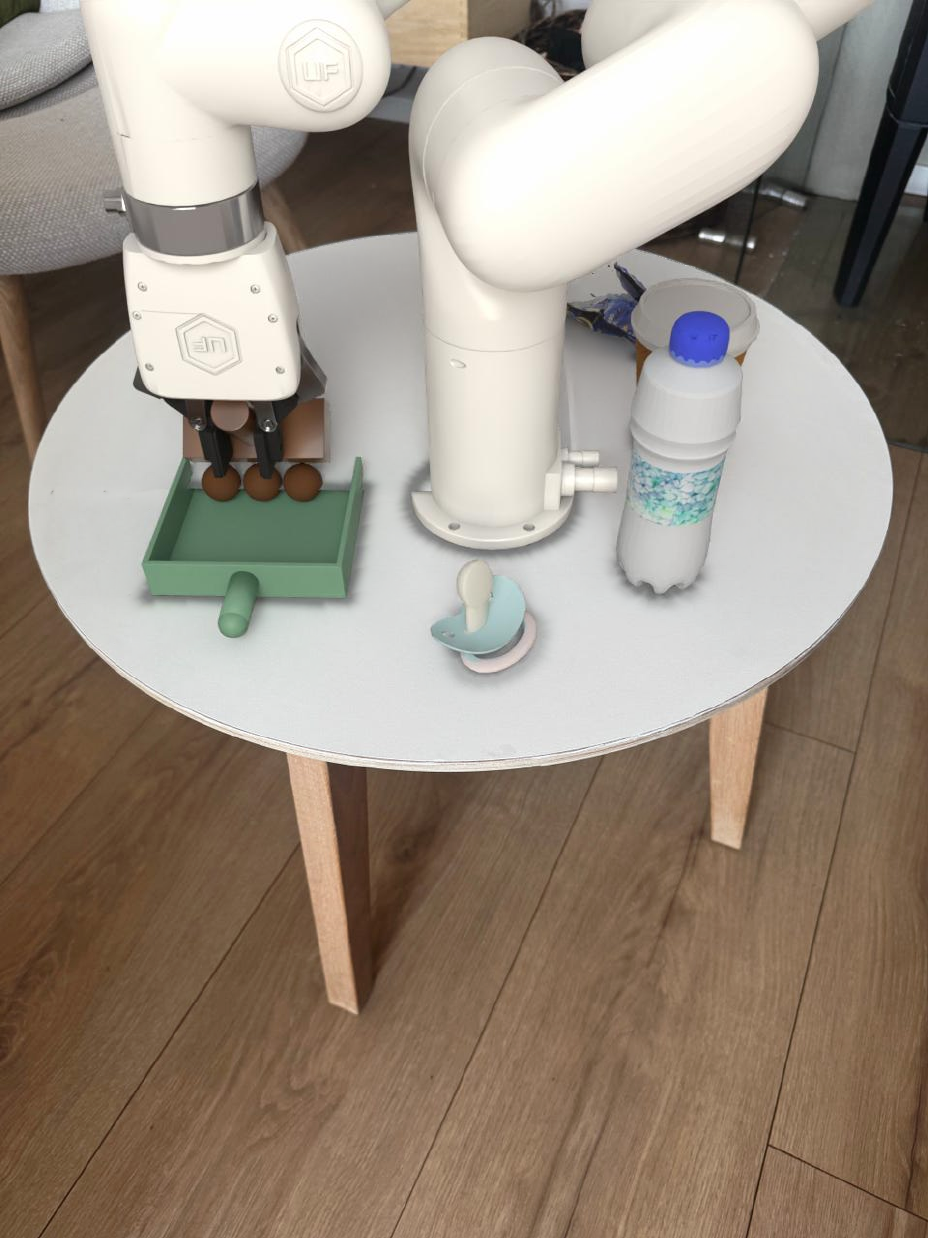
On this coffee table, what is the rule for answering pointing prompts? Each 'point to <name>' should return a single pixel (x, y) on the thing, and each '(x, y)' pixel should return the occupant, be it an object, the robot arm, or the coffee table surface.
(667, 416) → the bottle
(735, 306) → the disposable coffee cup
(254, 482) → the crumb
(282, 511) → the dustpan
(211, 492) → the crumb
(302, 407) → the brush
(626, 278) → the snack package
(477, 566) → the pacifier
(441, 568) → the coffee table surface
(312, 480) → the crumb
